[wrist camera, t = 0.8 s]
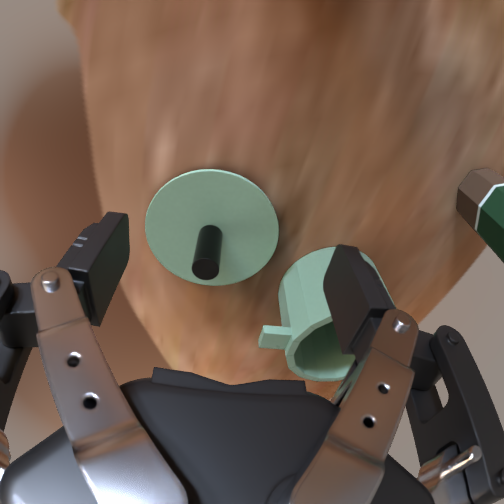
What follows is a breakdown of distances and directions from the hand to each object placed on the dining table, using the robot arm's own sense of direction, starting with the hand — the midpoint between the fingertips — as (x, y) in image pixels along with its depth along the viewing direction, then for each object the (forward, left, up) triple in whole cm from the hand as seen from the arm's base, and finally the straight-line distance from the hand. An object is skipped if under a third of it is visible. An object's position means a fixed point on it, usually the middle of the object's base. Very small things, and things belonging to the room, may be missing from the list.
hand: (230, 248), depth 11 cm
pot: (+16, +14, -17) cm, 28 cm away
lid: (+10, -1, -17) cm, 20 cm away
